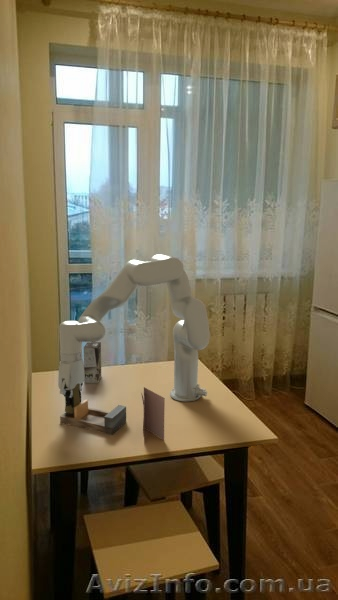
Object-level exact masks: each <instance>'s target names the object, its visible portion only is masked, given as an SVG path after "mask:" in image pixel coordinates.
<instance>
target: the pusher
mask: <svg viewBox="0 0 338 600" xmlns="http://www.w3.org/2000/svg"><path fill="white" fill-rule="evenodd" d="M88 408H89V399H85V400H83V401H81V403H80V404H79V405H77V406H76V407H74V415H75V418H76V419H81V418H82V417H84V416H85V415H86V414H88Z"/></svg>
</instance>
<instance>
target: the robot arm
mask: <svg viewBox="0 0 338 600" xmlns="http://www.w3.org/2000/svg"><path fill="white" fill-rule="evenodd" d="M160 284H166V285H167V289H168V294H169V301H170V306H171V311H172V314H173V316H175V317H176V318H178V319H180V320H178V321H177V322H176V323H175V325H174V326H173V329H172V339H173V347H174V363H173V365H174V369H173V379H174V380H173V389H171V390H170V392H169V396H170V397H171V398H172V399H174V400H175V401H178V402H194V401H197V400H199V399H200V398H201V397H202V396H203V397H207V395H208V391H207V389H205V388H201V387H200V384H199V383H198V377H199V376H198V372H199V368H198V366H199V351H201V350H204V349H205V348H207V347H208V345H209V342H210V340H211V339H210V338H211V332H210V325H209V324H210V323H209V319H208V318H209V317H208V312H207V308H206V306H205V304H204V303H203V301H202V300H200V299H199V298H196V297H194V296H193V294H192V288H191V283H190V279H189V277H188V274H187V272H186V271H185V269H184V265H183V262H182V261H181V260H180V259H179V258H177V257H176V256H173V255H172V256H171V255H168V254H162V253H159V254H155V255H153V256H151V258H150V260H149V261H144V260H143V261H142V260H138V259H131V260H129V261H127V262H126V263H125V265H124V266H123V267H122V268H121V269H120V271H118V274H117V275H116V276H115V277H114V279H113V280H112V282H111V283H110V284H109V285H108V287H107V288H106V289H105V290H104V291H103V292H102V293H101V294H99V295H98V296H97V297H96V298H95V299H93V300H92V301H91V302H90V303H89V304H88V306H86V308H85V310H84V311H83V312H82V314H81V315H80V316H79V318H78V320H65V321H62V322H61V323H60V324H59V326H58V332H59V349H60V350H59V352H60V354H59V355H60V361H59V363H58V365H59V366H58V375H57V376H58V377H57V378H58V380H57V382H58V389H60V390H59V394H61V395H63V397H64V398H65V399H64V401H65V405H66V406H70V405H71V407H72V408H73V407H74V397H72V394H73V390H72V389H73V388H75V386H76V385H77V384H78V383H79V384H80V388H79V396H80V401H81V402H82V390H83V388H82V387H83V384H84V381H85V373H84V357H83V342H85V343H87V342H99V341H101V340H103V338H104V337H105V335H106V328H105V326H104V325H103V323H102V322H101V321H102V320H103V318H104V317H105V316H106V315H107V314H108V313H110V312H111V311H113V310H115V309H117V308H121V307H123V306H125V305H126V304H127V302H128V301H129V299H130V298H131V297H132V295H133V294H134V293H135V291H136V290H137V289H138V287H139V286H141V287H149V286H155V285H160ZM66 387H68V388H66ZM67 390H69V392H67Z"/></svg>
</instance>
